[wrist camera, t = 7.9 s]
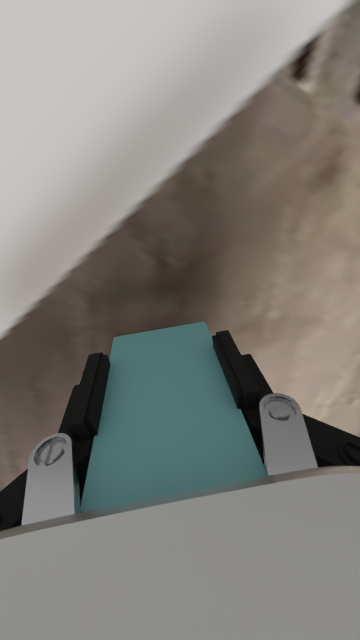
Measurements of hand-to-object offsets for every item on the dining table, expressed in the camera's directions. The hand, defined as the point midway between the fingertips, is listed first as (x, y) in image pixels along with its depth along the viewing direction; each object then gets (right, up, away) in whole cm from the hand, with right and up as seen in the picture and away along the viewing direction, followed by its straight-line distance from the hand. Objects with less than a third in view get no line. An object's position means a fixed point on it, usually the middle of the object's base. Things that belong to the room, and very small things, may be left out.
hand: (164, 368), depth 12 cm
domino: (0, +1, +2) cm, 2 cm away
